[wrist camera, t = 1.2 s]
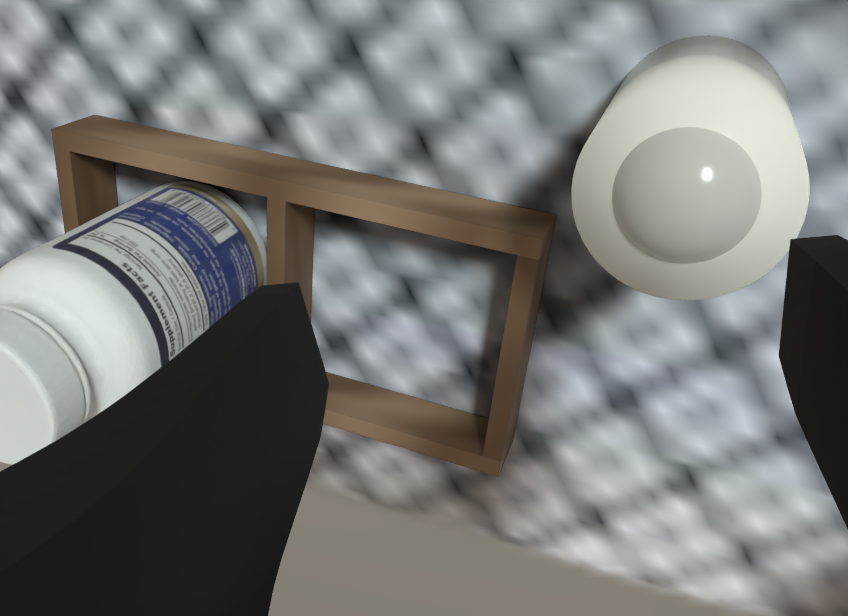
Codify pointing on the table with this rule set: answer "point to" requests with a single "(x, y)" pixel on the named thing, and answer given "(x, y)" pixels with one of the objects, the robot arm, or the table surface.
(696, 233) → the salt shaker
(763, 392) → the table surface
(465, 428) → the wooden tray
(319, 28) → the table surface
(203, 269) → the pill bottle
